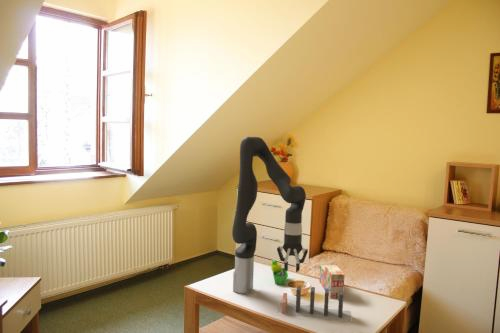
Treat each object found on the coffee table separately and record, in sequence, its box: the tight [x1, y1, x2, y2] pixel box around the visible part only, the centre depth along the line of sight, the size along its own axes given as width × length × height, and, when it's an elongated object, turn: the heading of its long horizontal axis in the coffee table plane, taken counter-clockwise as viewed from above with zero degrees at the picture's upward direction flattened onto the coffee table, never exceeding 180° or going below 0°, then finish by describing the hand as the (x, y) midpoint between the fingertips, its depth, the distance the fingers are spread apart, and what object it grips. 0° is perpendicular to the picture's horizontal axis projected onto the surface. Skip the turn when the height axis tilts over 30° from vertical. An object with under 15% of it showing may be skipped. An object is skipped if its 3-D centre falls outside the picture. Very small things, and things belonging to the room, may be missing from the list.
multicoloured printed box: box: [318, 264, 345, 299], centre depth 195 cm, size 21×6×12 cm, turn 5°
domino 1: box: [281, 292, 288, 315], centre depth 172 cm, size 2×5×10 cm
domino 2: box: [295, 285, 302, 313], centre depth 171 cm, size 2×5×10 cm, turn 168°
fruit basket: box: [270, 259, 289, 285], centre depth 205 cm, size 11×9×11 cm
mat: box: [277, 302, 352, 323], centre depth 170 cm, size 31×10×1 cm, turn 78°
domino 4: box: [323, 288, 330, 316], centre depth 168 cm, size 2×5×10 cm, turn 168°
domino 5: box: [337, 289, 344, 318], centre depth 167 cm, size 2×5×10 cm, turn 168°
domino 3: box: [309, 286, 316, 314], centre depth 170 cm, size 2×5×10 cm, turn 168°
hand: (291, 270), depth 170 cm, fingers open, 4 cm apart
